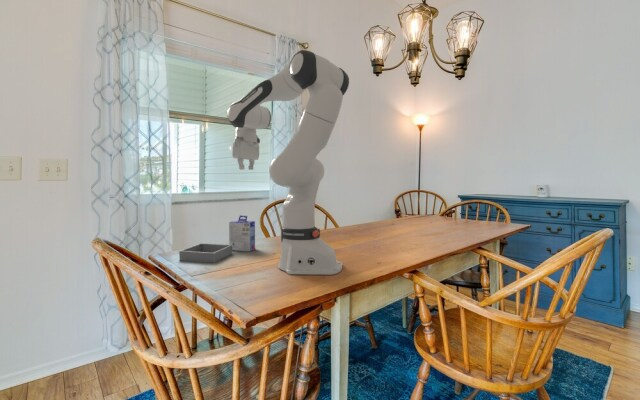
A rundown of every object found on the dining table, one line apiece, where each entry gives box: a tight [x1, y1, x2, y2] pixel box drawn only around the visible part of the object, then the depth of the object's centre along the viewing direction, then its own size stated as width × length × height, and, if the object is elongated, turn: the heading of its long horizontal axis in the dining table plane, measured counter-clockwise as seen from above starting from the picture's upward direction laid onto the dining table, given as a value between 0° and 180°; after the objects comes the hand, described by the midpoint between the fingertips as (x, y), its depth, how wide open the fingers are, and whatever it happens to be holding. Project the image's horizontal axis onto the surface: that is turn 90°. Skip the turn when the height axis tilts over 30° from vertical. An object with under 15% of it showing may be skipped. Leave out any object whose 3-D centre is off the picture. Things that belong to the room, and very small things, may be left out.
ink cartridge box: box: [228, 215, 256, 252], centre depth 142 cm, size 10×6×14 cm, turn 78°
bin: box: [178, 242, 233, 264], centre depth 130 cm, size 14×14×4 cm
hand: (246, 169), depth 149 cm, fingers open, 8 cm apart
